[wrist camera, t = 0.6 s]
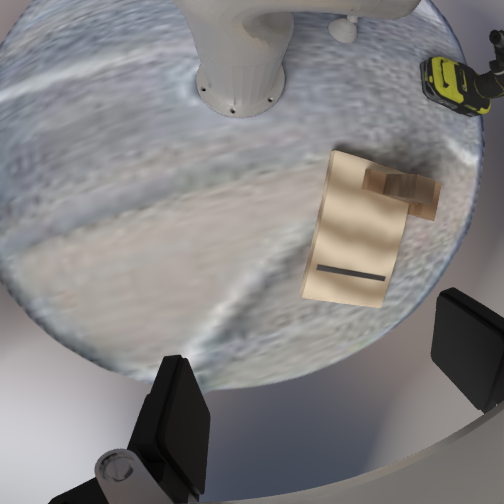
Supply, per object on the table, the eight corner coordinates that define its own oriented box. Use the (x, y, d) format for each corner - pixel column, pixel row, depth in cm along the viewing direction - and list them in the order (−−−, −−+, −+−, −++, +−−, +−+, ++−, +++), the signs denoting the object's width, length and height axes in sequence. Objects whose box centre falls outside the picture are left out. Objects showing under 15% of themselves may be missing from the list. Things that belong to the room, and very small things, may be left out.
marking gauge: (362, 160, 39) (403, 155, 28) (424, 182, 40) (471, 186, 29) (355, 198, 40) (394, 205, 29) (417, 216, 41) (463, 229, 30)
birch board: (331, 151, 39) (335, 150, 37) (407, 176, 40) (414, 176, 38) (299, 292, 44) (302, 297, 42) (375, 303, 45) (380, 308, 43)
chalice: (370, 41, 34) (424, -8, 17) (342, 54, 35) (393, -1, 18) (342, 10, 33) (384, -47, 15) (313, 22, 34) (348, -42, 16)
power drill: (410, 53, 35) (502, 1, 11) (472, 83, 36) (561, 61, 12) (413, 97, 37) (521, 60, 13) (476, 123, 38) (573, 114, 14)
